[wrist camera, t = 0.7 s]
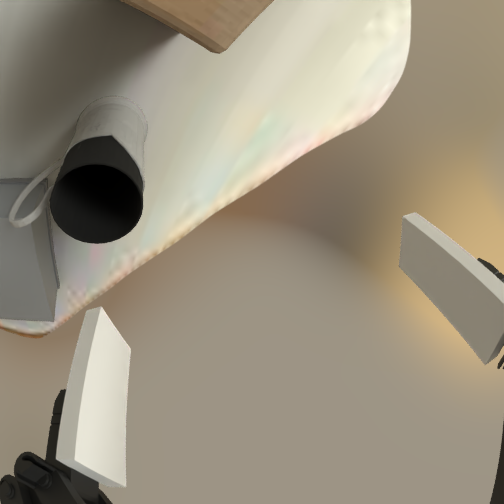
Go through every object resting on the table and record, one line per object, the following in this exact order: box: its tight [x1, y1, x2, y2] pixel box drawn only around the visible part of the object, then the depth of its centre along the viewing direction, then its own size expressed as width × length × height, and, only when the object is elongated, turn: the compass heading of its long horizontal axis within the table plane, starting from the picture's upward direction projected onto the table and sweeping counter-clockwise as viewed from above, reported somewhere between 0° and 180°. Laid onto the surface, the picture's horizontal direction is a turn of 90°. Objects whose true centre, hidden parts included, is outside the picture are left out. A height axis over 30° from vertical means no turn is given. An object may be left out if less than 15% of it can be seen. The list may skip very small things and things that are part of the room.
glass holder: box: [9, 96, 148, 244], centre depth 25 cm, size 9×14×15 cm, turn 92°
